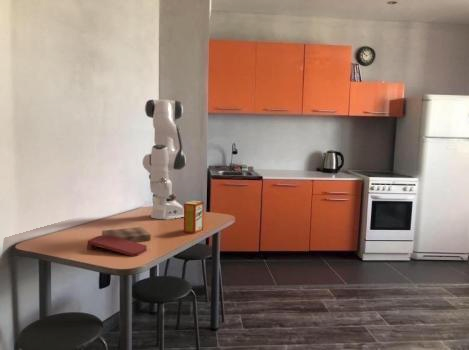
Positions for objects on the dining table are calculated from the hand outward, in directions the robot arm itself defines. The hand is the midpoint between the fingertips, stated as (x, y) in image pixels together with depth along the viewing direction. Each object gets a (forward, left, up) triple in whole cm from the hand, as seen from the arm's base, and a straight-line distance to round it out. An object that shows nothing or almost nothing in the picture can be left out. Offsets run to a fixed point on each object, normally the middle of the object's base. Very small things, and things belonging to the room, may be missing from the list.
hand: (159, 204), depth 207 cm
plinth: (+17, 0, -16) cm, 24 cm away
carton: (+25, +18, -16) cm, 35 cm away
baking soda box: (-19, -1, -16) cm, 25 cm away
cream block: (0, 0, -2) cm, 2 cm away
